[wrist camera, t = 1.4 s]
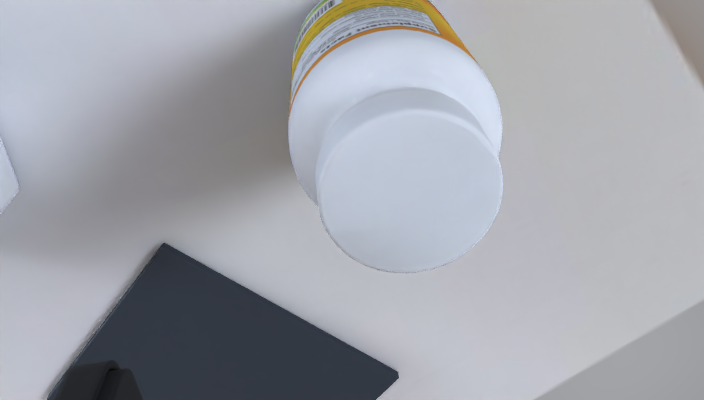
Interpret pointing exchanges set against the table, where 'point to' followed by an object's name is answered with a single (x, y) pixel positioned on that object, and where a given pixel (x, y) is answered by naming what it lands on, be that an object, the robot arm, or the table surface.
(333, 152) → the supplement bottle
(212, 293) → the coaster mat
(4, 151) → the jar
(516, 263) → the table surface
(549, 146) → the table surface
